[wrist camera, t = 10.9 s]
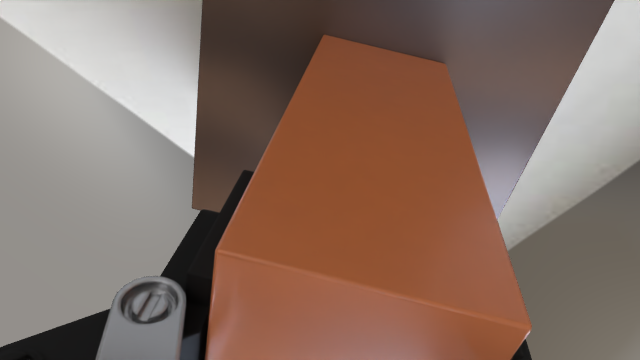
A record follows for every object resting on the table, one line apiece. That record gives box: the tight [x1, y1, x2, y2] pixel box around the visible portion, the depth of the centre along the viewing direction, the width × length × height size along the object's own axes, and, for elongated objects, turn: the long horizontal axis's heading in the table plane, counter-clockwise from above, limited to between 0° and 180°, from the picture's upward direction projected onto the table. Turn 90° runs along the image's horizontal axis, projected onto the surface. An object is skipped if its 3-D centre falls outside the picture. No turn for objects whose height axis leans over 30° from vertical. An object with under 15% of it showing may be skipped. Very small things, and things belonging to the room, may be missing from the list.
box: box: [205, 35, 532, 360], centre depth 14 cm, size 5×6×13 cm
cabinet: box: [192, 0, 614, 219], centre depth 23 cm, size 17×15×11 cm
